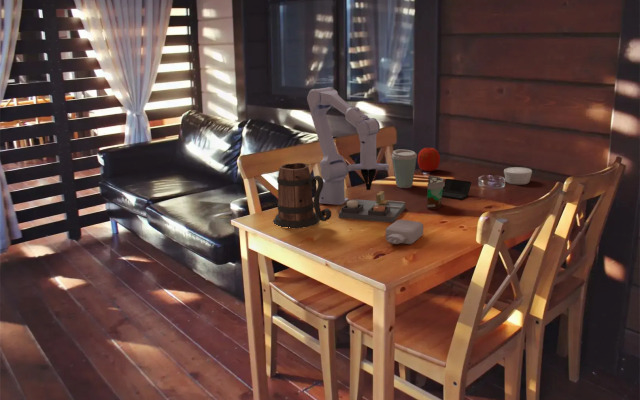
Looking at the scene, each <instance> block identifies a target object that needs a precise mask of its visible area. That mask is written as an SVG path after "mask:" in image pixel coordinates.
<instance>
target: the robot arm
mask: <svg viewBox="0 0 640 400" xmlns="http://www.w3.org/2000/svg"><path fill="white" fill-rule="evenodd" d="M306 100H307V104H308V107H309V110H310V111H309V112H310V116H311V118H312V122H313V126H314V130H315V132H316V133H315V134H316V136H317V139H318V143H319V146H320V149H321V153H322V155H323V158H322V159H321V161H320V162H319V166H320V174H321V177H322V179H323V188H322V191H321V193H320V197H319V204H322V205H323V204H326V205H336V206H342V205H343V204H344V203H345V204H346V203H347V201H349V198H348V197H345V193H346V192H345V179H346V176H348V174H349V172H352V171H360V173H361V175H362V179H363V180H364V183H365V188H366V191H370V190H371V188H372V185H373V184H372V183H373V180H374V179H375V176H376V174H377V171H389V167H390V164H389V163H380V162H379V163H377V134H378V133H379V132H380V129H381V125H380V123H379V121H378V119H377V118H375V117H369V116H368V115H367V114H365V113H363V112H362V111H361V108H359V107H356V106H350V105H349V103H347V102H346V101H345V100H344V99H343V98H342V97H341V96H340V95H339V92H338V91H337V90H336V89H334V87H333V86H328V87H322V88H312V89H310V90H309V92H308V95H307V97H306ZM331 107H333V108H335V109H336V110H338V111H339V112H340V113H342V114H343V115H344V117H345V121H347V122H348V123H349V124H350V125H352V126H353V127H354V128H355V129H356V132H357V134H358V140H359V142H360V143H359V144H360V145H359V147H360V148H359V150H360V151H359V153H360V156H359V157H360V160H359V161H360V162H359V163H352V164H347V162H346V161H345V159H344V156H343V155H341V154H339V153H338V151H337V147H336V144H335V141H334V138H333V135H332V131H331V128H330V124H329V120H328V118H327V112H328V111H329V110H330V109H331Z"/></svg>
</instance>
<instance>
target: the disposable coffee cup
mask: <svg viewBox="0 0 640 400" xmlns="http://www.w3.org/2000/svg"><path fill="white" fill-rule="evenodd" d="M390 156H391V160H392V165H393V172H394V178H395V179H394V180H395V185H396V187H398V188H400V189H409V188H412V186H413V183H414V177H415V176H414V175H415V170H416V164H417V159H418V153H417V152H415V151H414V150H410V149H395V150H393V151H392V154H391V155H390Z"/></svg>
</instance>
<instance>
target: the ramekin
mask: <svg viewBox="0 0 640 400" xmlns="http://www.w3.org/2000/svg"><path fill="white" fill-rule="evenodd" d="M503 174H504V179H506V180H505V182H506V183H507V184H510V185H517V186H519V185H520V186H522V185H527V184H529V183H530V181H531V177H532V174H533V170H532V169H531V168H528V167H520V166H519V167H518V166H514V167H507V168H504V170H503Z"/></svg>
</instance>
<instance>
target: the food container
mask: <svg viewBox="0 0 640 400" xmlns="http://www.w3.org/2000/svg"><path fill="white" fill-rule="evenodd" d="M444 186H445V180H444V178H442V177H440V176H436V175H428V181H427V199H426V200H427V201H426V203H427V204H426V206H427V207H426V209H427V210H435V209H439V208H441V207H442V198H443V197H442V191H443V187H444Z"/></svg>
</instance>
